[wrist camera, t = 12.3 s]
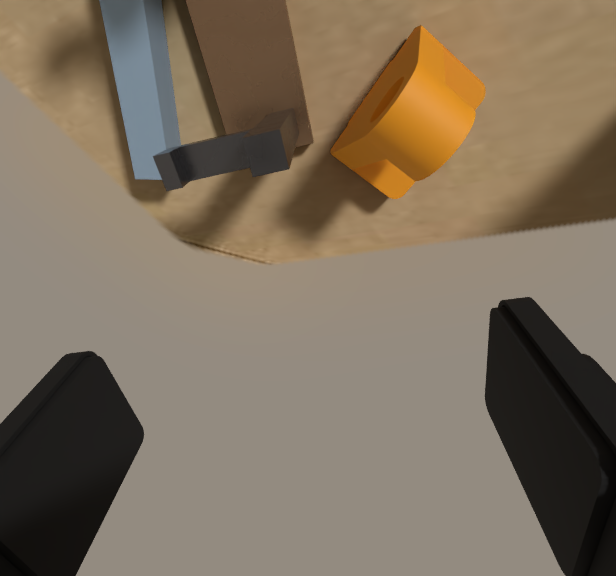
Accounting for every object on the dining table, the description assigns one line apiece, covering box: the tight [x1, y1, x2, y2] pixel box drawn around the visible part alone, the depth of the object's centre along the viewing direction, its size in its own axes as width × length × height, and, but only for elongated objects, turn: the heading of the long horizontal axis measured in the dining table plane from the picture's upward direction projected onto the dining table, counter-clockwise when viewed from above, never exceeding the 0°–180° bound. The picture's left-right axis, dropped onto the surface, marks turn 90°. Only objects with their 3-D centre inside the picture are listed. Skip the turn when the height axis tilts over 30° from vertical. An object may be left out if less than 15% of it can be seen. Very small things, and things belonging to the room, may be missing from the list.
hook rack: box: [153, 0, 313, 191], centre depth 23 cm, size 8×20×15 cm, turn 12°
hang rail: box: [99, 0, 181, 180], centre depth 28 cm, size 3×22×4 cm, turn 179°
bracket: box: [330, 25, 485, 199], centre depth 27 cm, size 11×7×12 cm
